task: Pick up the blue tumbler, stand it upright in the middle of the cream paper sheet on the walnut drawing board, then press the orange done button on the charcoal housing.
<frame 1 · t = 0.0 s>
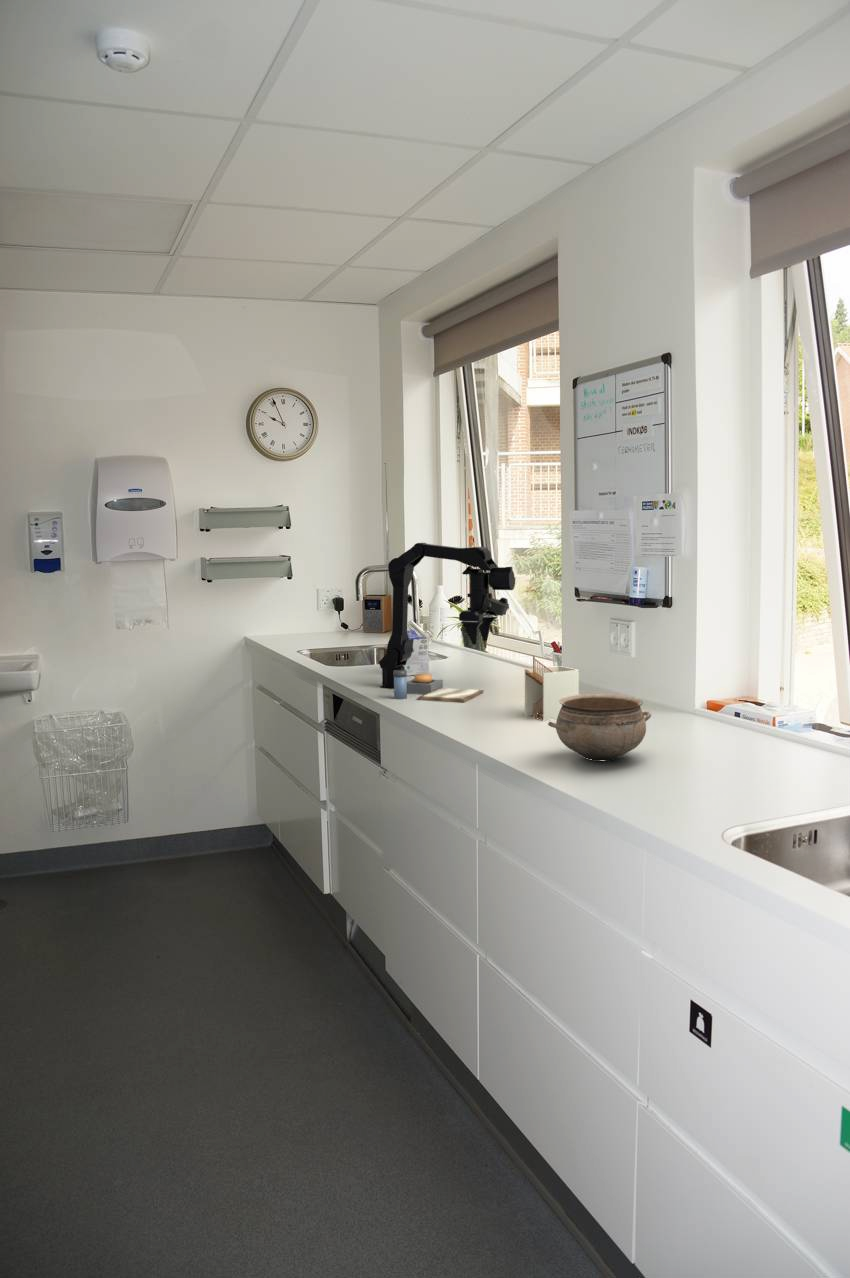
hand: (479, 642, 291), 15 cm above the counter, fingers open, 9 cm apart
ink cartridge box: (413, 675, 327), on the counter
white open box: (551, 718, 255), on the counter
cooking pot: (600, 758, 210), on the counter
done button: (422, 678, 294), point 4 cm above the counter, slide at 0.0 cm
blue tumbler: (400, 698, 284), on the counter
drawing board: (451, 696, 285), on the counter
button housing: (423, 691, 294), on the counter
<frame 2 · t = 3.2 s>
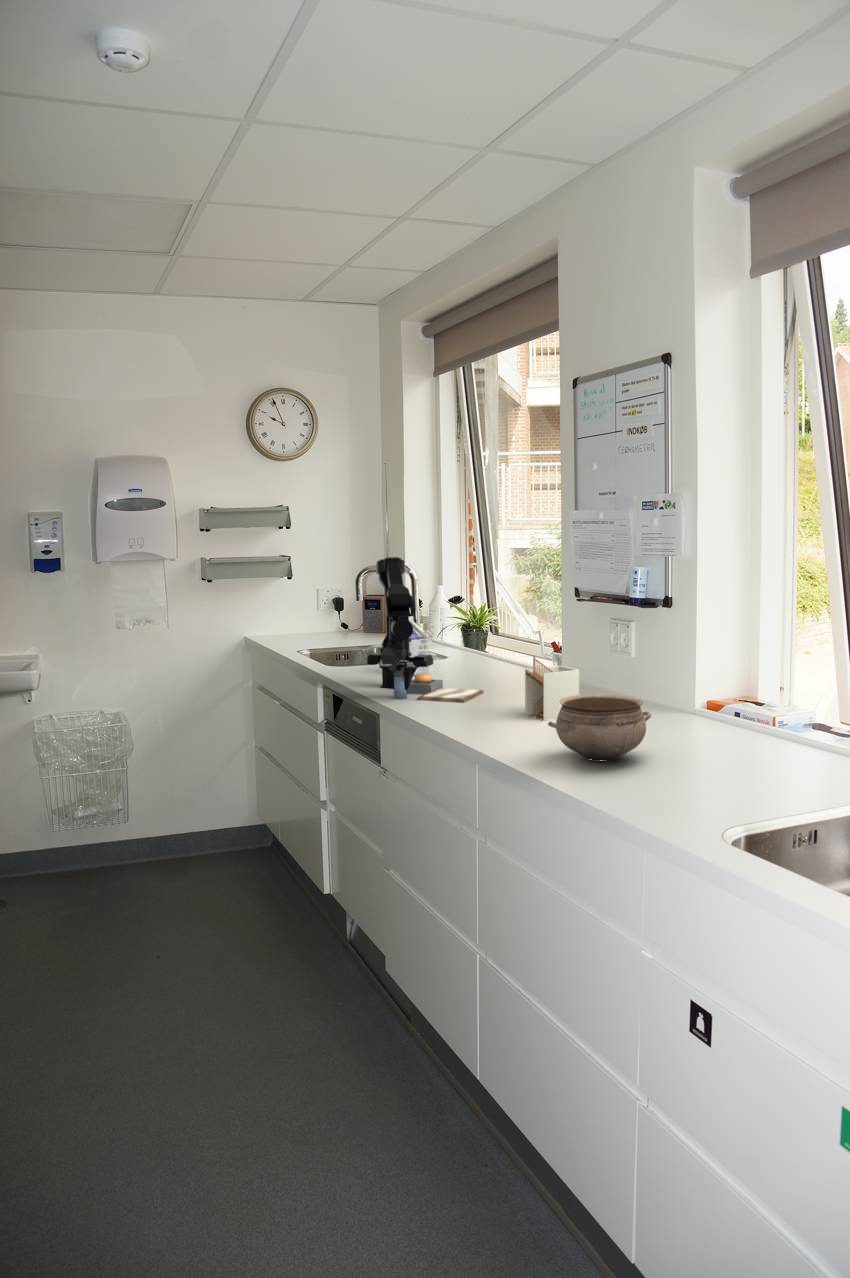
hand: (400, 689, 284), 3 cm above the counter, fingers closed on blue tumbler, 4 cm apart
blue tumbler: (400, 698, 284), on the counter, touching gripper
everything else where it was.
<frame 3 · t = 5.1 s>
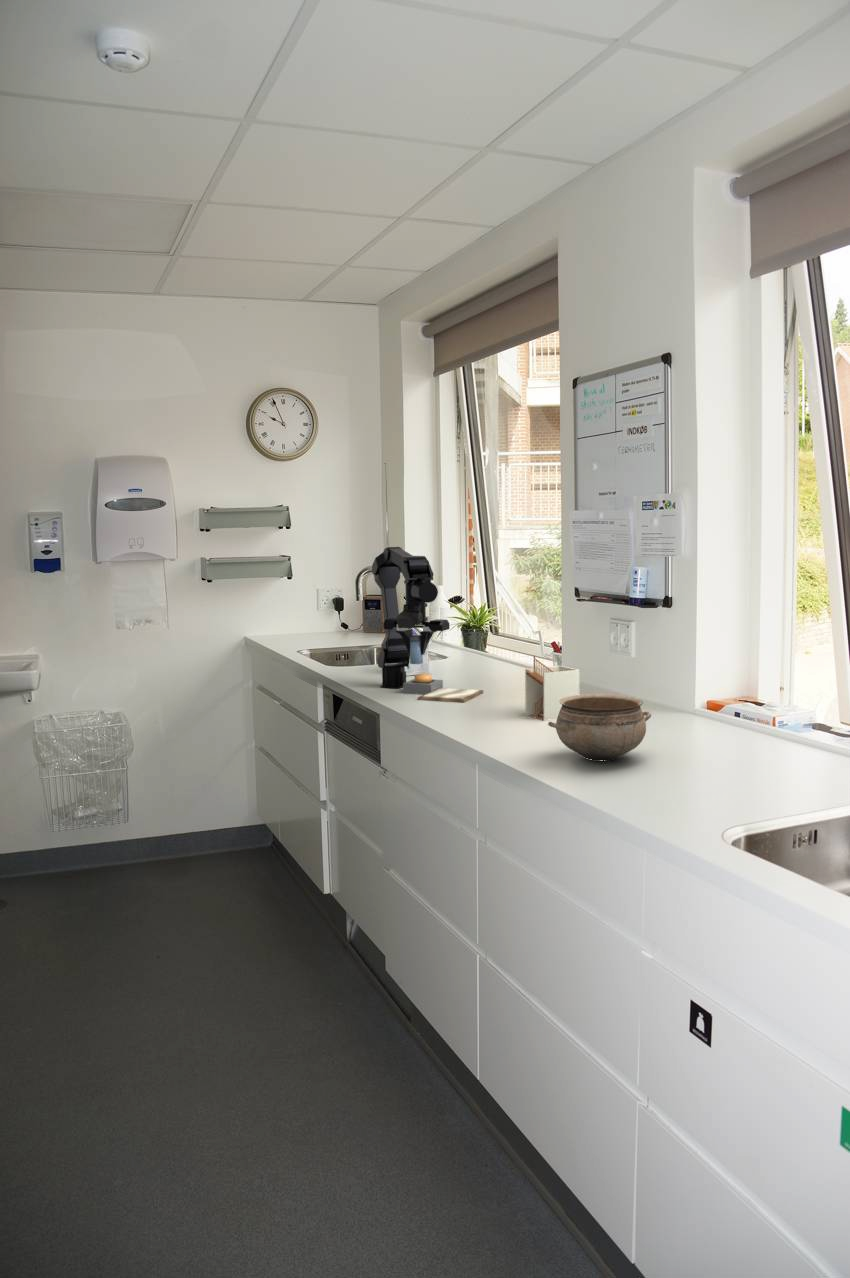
hand: (416, 654, 283), 13 cm above the counter, fingers closed on blue tumbler, 4 cm apart
blue tumbler: (416, 663, 283), point 10 cm above the counter, touching gripper
everything else where it was.
when the fingers open (5 cm above the counter, at t = 7.5 s): blue tumbler drops 1 cm, resting on drawing board.
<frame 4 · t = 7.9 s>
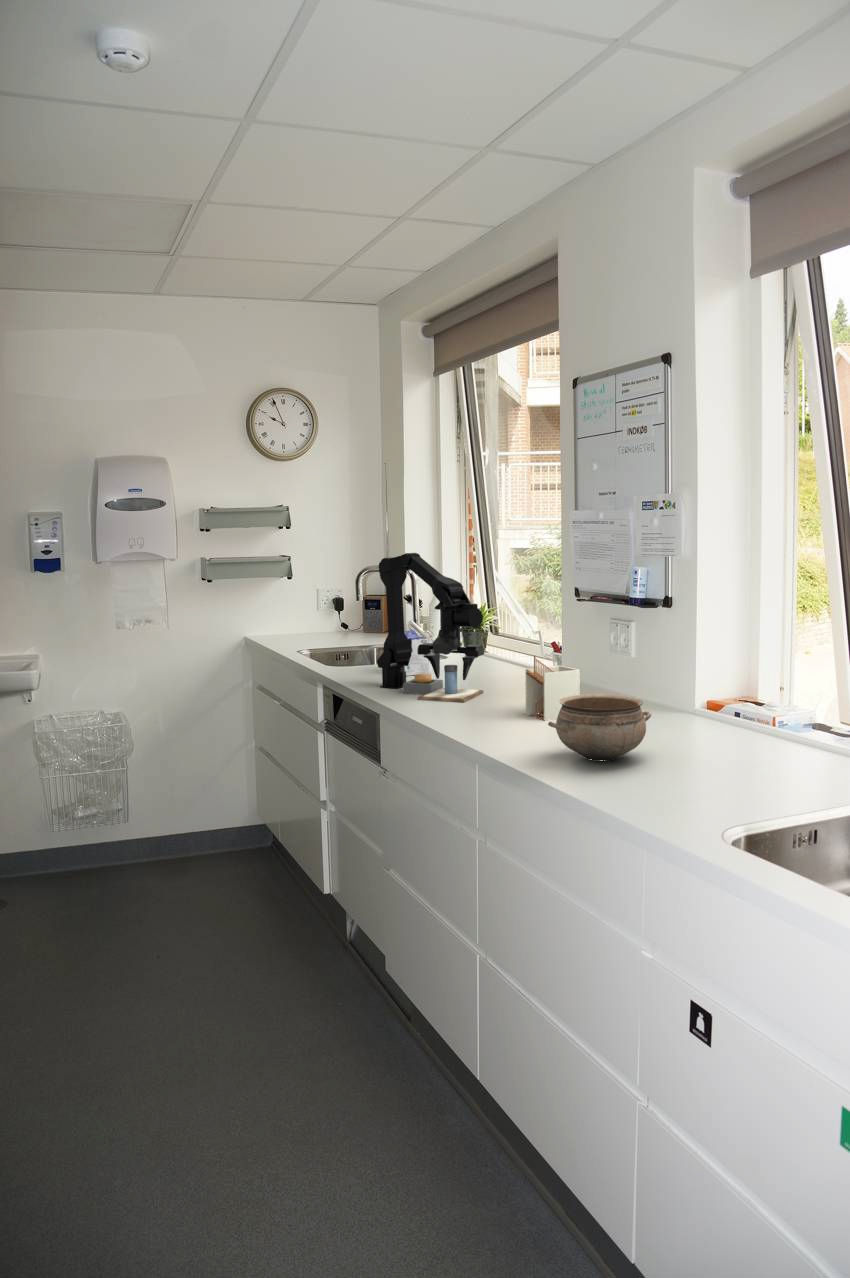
hand: (451, 679, 285), 5 cm above the counter, fingers open, 8 cm apart
blue tumbler: (451, 692, 285), point 1 cm above the counter, touching drawing board
everything else where it was.
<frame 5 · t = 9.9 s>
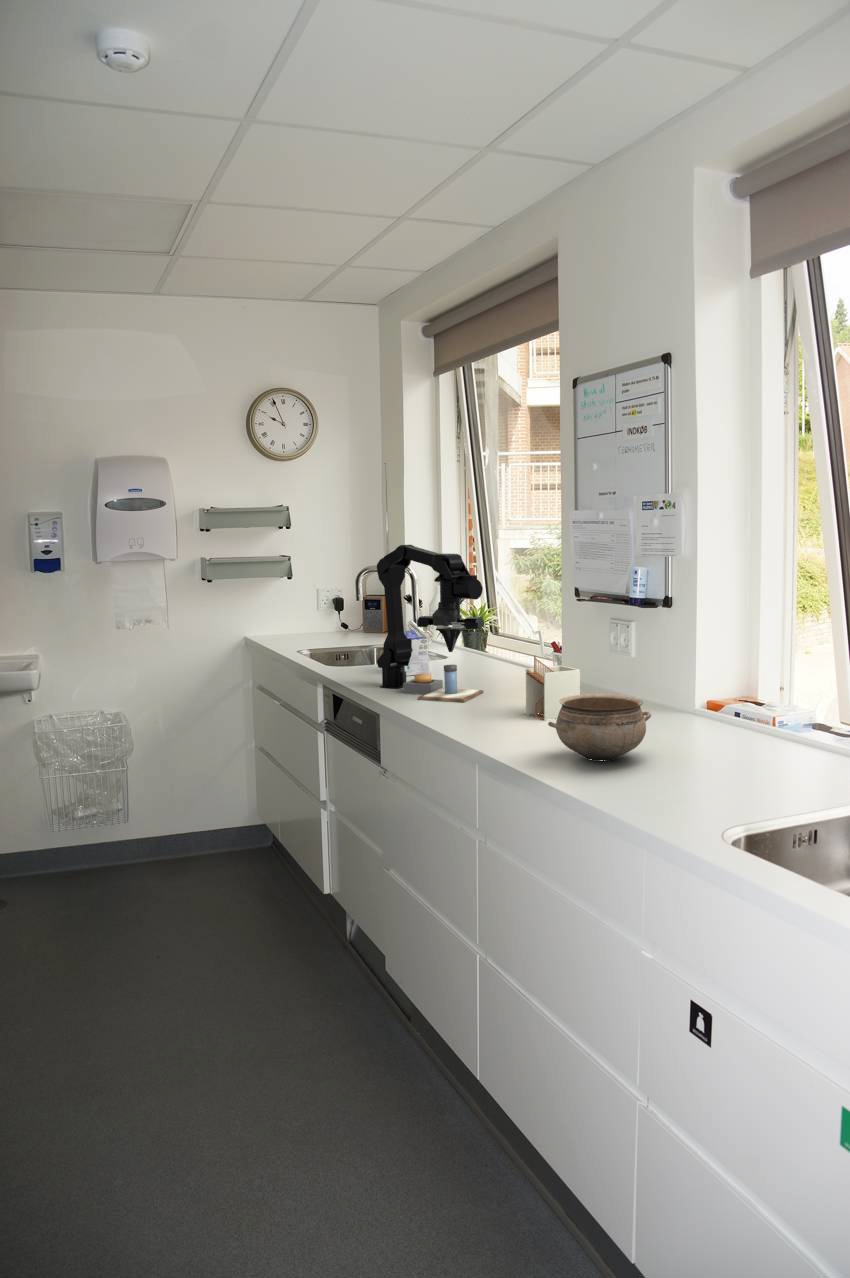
hand: (450, 651, 284), 13 cm above the counter, fingers closed
nothing on the counter moved.
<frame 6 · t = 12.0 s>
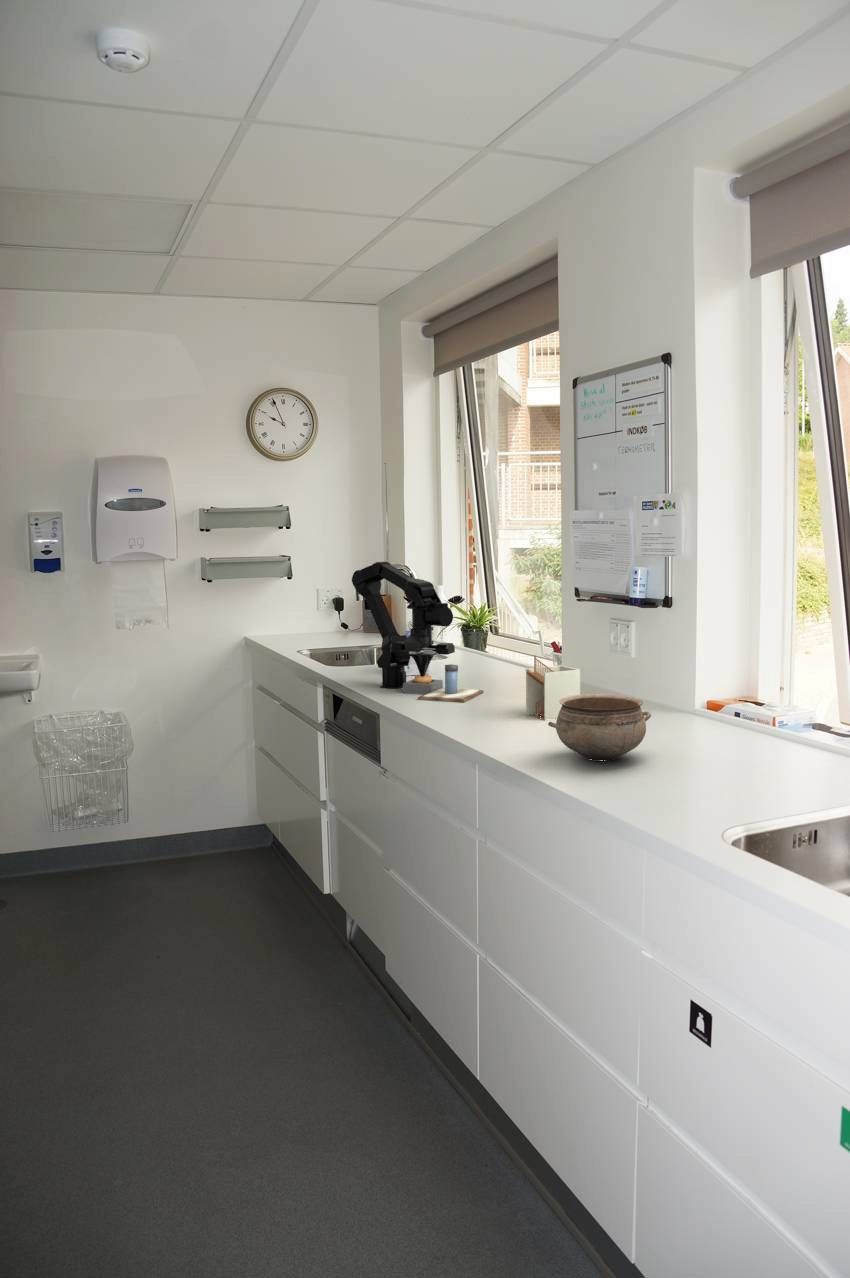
hand: (422, 676, 294), 5 cm above the counter, fingers closed, pressing on done button
done button: (423, 679, 294), point 4 cm above the counter, slide at 0.5 cm, touching gripper
everything else where it was.
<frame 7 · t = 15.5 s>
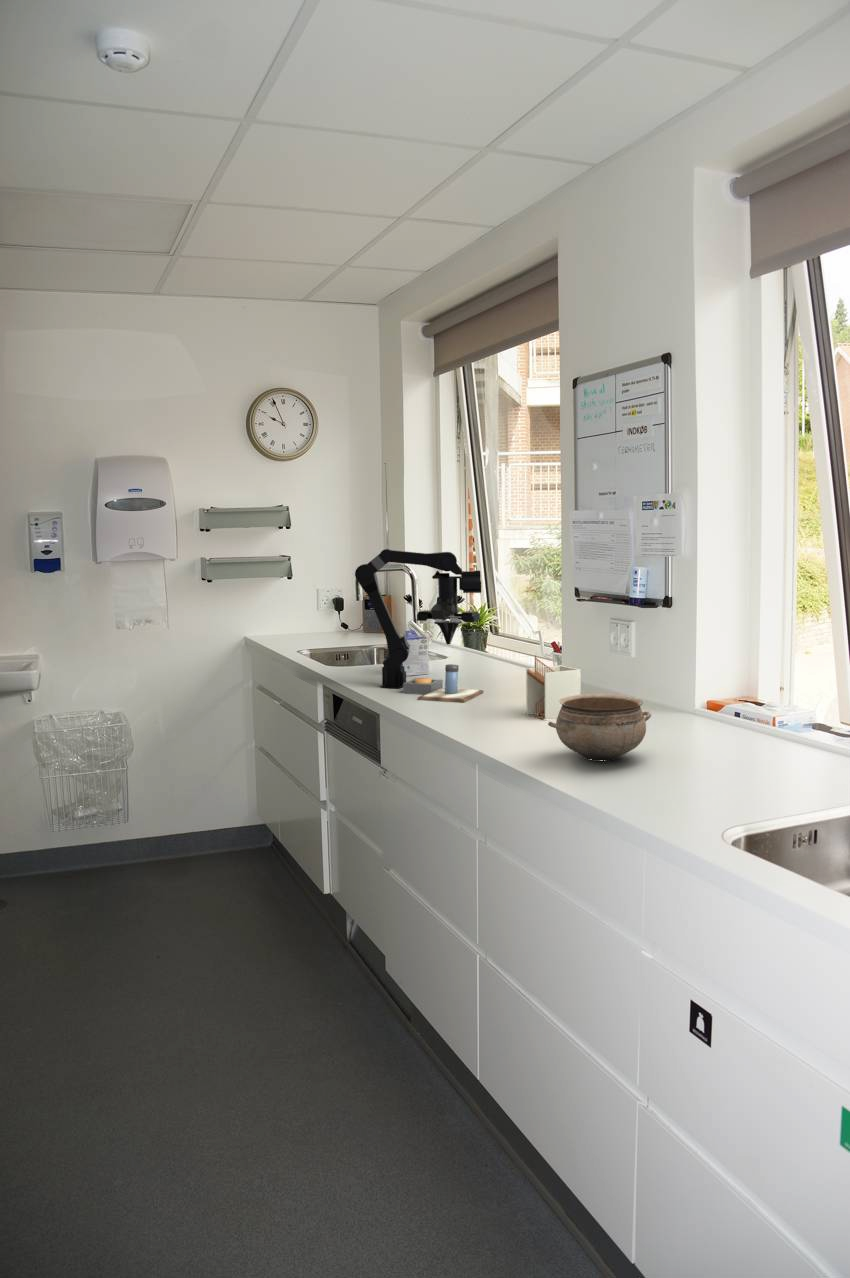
hand: (448, 644, 301), 13 cm above the counter, fingers closed
done button: (423, 682, 294), point 3 cm above the counter, slide at 1.3 cm
everything else where it was.
at the end: blue tumbler inside the target area on the drawing board (0.1 cm from its centre), point 1.1 cm above the drawing board's base; blue tumbler tilted 3°; done button slide at 1.3 cm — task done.
